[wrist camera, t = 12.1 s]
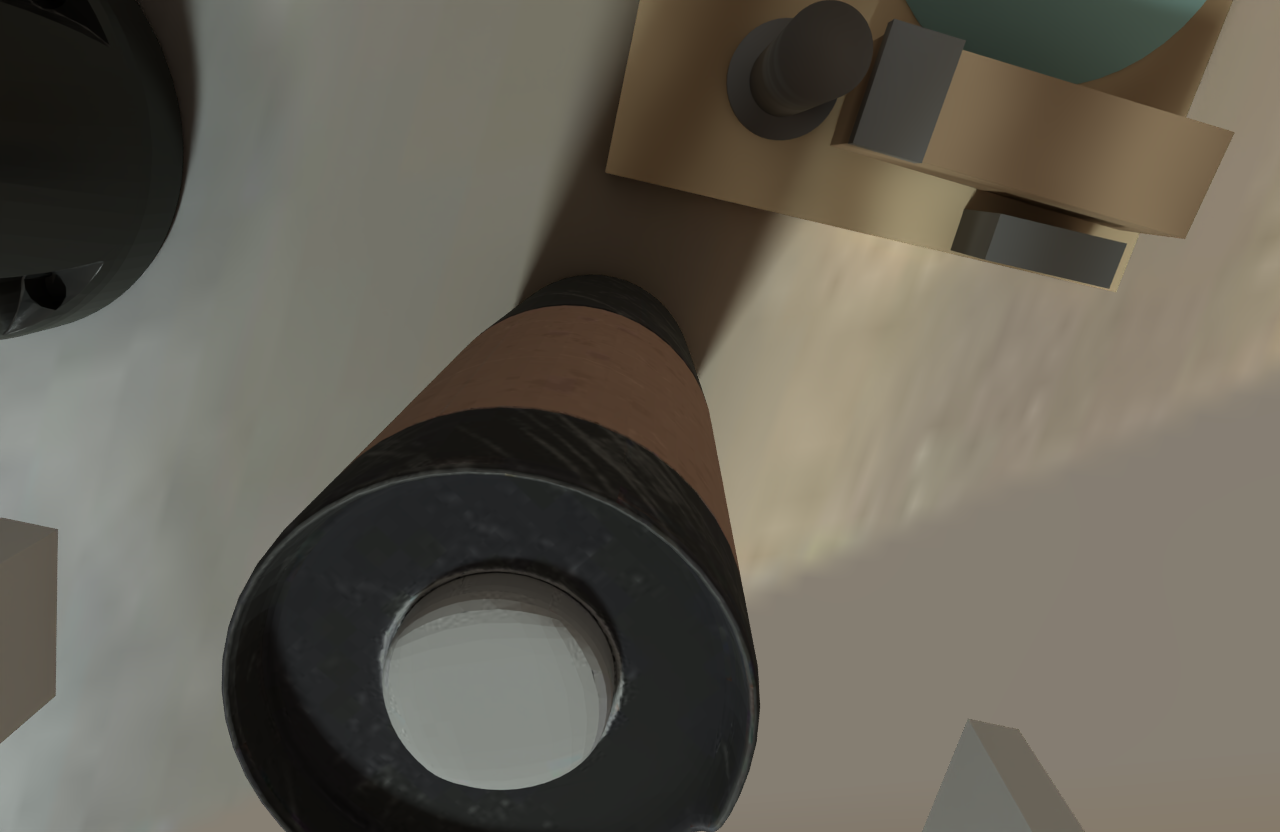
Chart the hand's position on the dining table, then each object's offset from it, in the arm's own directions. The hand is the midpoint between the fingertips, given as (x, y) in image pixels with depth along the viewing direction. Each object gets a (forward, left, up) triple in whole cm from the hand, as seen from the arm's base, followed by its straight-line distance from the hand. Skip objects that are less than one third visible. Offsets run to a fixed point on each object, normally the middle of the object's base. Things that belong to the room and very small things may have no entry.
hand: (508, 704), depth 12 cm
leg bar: (+11, +11, -18) cm, 23 cm away
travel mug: (0, 0, -20) cm, 20 cm away
